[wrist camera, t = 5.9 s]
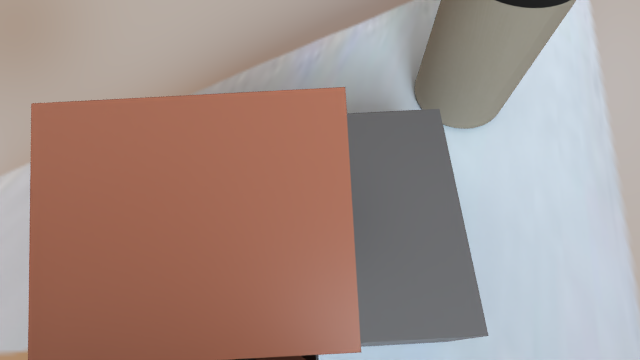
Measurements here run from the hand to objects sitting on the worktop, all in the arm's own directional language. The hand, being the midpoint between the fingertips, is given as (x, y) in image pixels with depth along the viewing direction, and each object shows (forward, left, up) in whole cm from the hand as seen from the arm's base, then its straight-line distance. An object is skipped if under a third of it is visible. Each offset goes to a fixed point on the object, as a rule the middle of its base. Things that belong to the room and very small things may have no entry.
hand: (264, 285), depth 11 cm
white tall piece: (0, +5, -9) cm, 11 cm away
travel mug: (+15, +20, -19) cm, 31 cm away
